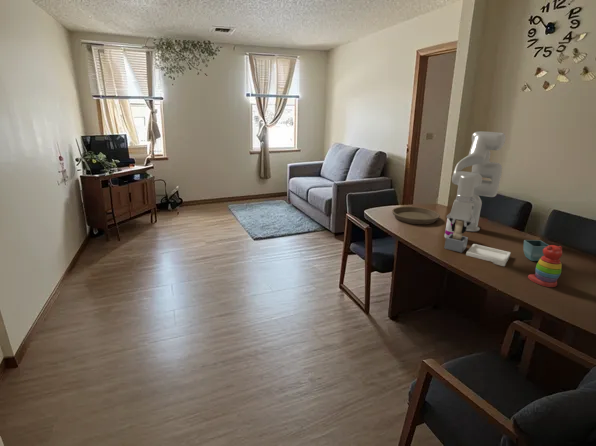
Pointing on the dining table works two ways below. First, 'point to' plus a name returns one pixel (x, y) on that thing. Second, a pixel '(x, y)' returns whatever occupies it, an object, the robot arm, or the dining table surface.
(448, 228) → the supplement can
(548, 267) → the stacking bear
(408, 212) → the plant saucer
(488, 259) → the white tray
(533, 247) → the flower pot
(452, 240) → the grey open box
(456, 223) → the birch peg
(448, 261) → the dining table surface
